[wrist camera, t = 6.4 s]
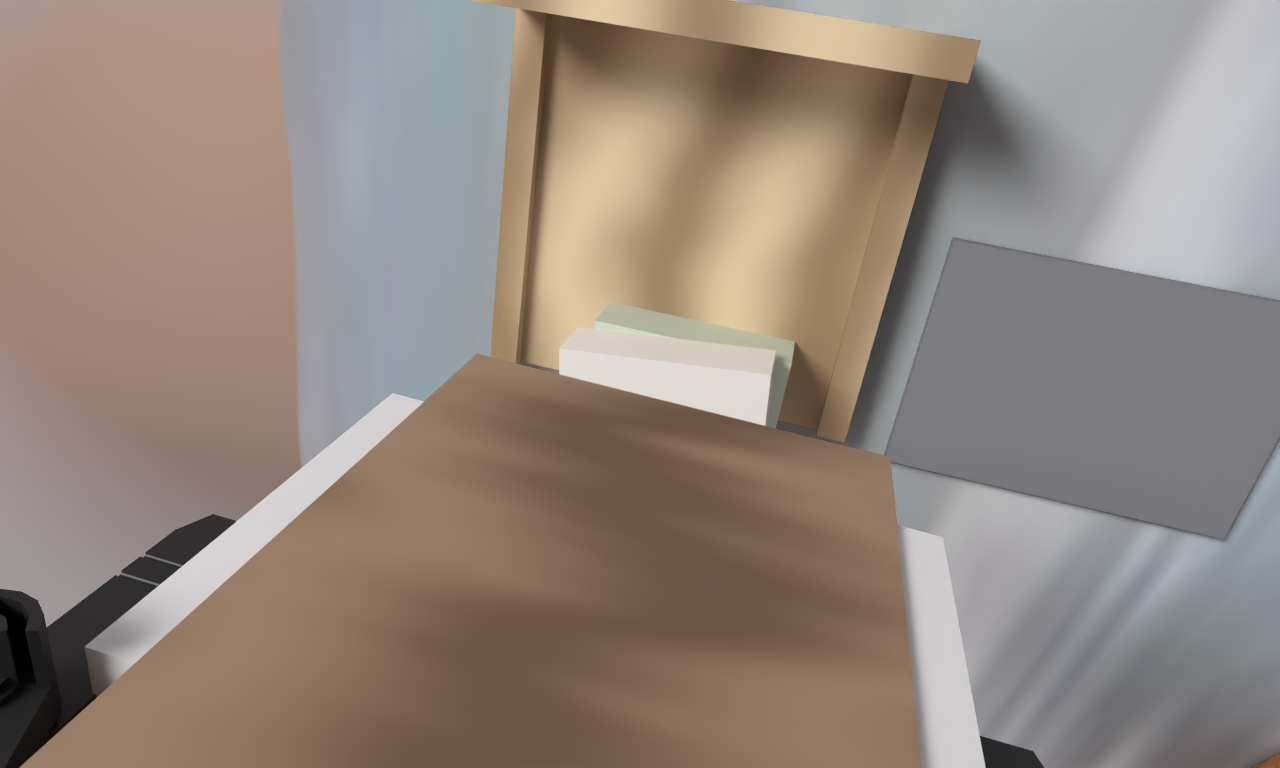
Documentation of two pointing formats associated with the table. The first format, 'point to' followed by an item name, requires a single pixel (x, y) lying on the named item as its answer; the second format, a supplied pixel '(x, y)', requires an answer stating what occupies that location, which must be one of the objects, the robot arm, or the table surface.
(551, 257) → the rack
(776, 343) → the offcut lower
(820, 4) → the table surface
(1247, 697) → the table surface
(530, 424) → the walnut board
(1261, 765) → the bread
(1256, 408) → the rubber mat
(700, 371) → the offcut upper
